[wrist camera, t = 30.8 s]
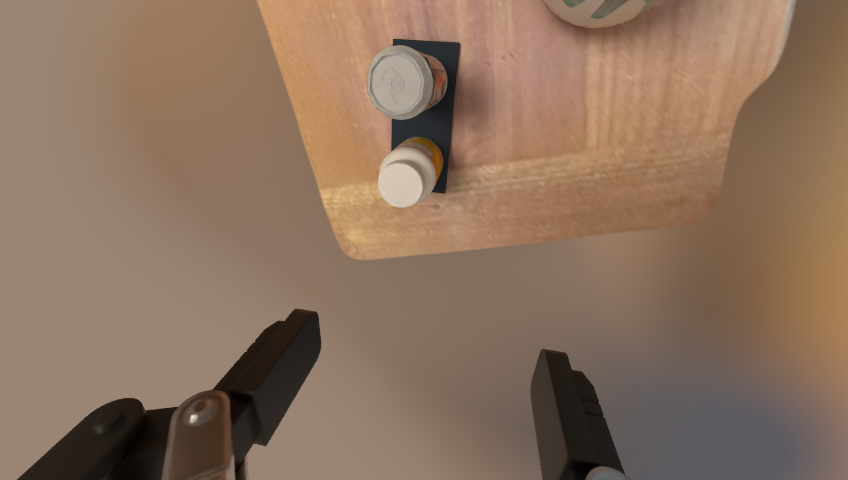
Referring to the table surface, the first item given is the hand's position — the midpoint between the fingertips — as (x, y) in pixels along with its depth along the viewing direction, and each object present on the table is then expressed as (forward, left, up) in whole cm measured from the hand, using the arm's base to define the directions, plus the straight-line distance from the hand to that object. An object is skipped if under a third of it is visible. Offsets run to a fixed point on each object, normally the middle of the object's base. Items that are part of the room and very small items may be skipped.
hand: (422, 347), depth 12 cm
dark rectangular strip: (-4, -5, -28) cm, 29 cm away
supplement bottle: (0, -5, -28) cm, 28 cm away
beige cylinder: (-8, -5, -28) cm, 29 cm away
